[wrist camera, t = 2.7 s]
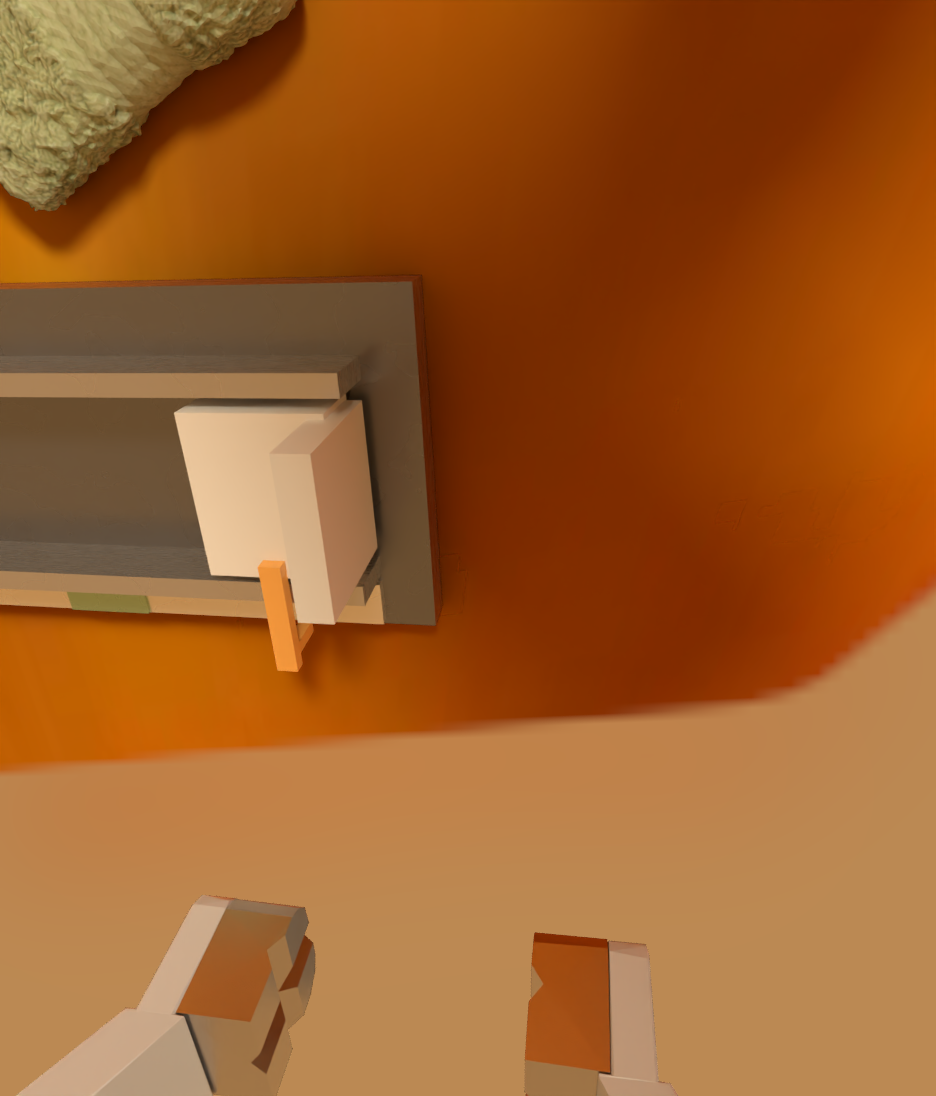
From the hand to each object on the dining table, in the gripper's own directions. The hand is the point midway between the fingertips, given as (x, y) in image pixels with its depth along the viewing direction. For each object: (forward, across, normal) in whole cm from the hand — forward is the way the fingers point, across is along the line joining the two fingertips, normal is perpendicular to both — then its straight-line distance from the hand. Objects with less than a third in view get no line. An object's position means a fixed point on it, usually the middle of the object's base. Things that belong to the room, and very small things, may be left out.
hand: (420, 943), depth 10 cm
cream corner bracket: (+17, +8, +2) cm, 19 cm away
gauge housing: (+19, +18, 0) cm, 27 cm away
